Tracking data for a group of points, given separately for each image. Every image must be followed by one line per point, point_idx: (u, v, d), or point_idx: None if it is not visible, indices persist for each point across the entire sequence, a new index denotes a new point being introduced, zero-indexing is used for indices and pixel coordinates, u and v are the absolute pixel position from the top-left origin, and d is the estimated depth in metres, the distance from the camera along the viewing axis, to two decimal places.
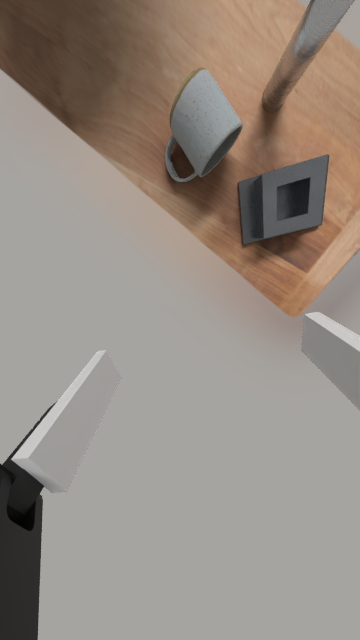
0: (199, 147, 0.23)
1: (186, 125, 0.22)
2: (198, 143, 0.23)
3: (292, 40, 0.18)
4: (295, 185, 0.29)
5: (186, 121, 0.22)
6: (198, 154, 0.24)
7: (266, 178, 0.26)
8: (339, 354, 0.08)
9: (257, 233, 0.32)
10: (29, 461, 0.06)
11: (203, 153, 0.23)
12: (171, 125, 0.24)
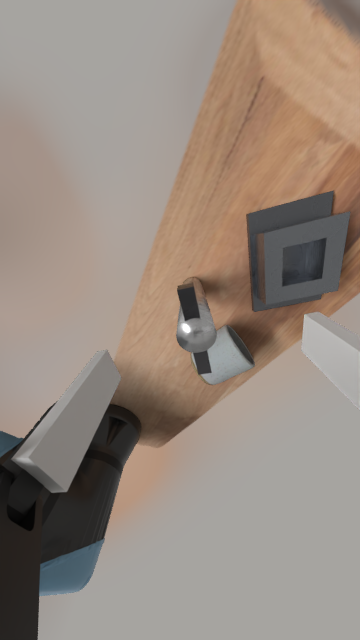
0: (243, 371, 0.26)
1: None
2: (240, 372, 0.26)
3: None
4: None
5: None
6: (246, 370, 0.26)
7: (271, 299, 0.23)
8: (339, 354, 0.08)
9: None
10: (29, 461, 0.06)
11: (248, 369, 0.25)
12: None
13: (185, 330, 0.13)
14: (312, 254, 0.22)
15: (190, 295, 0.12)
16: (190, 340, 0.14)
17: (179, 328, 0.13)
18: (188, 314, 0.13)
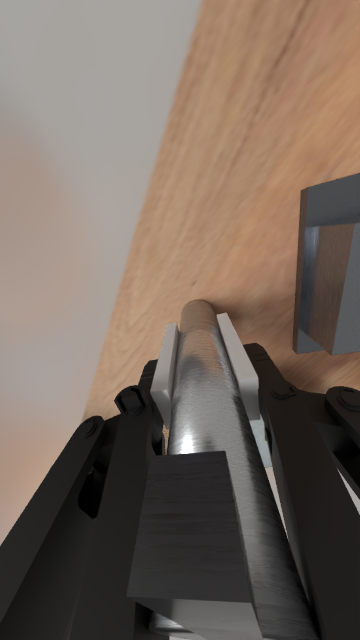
0: None
1: None
2: None
3: None
4: None
5: None
6: None
7: (343, 347, 0.13)
8: (224, 344, 0.11)
9: None
10: (163, 394, 0.08)
11: None
12: None
13: (187, 631, 0.03)
14: None
15: (217, 611, 0.02)
16: (205, 637, 0.03)
17: (159, 626, 0.03)
18: (201, 625, 0.02)
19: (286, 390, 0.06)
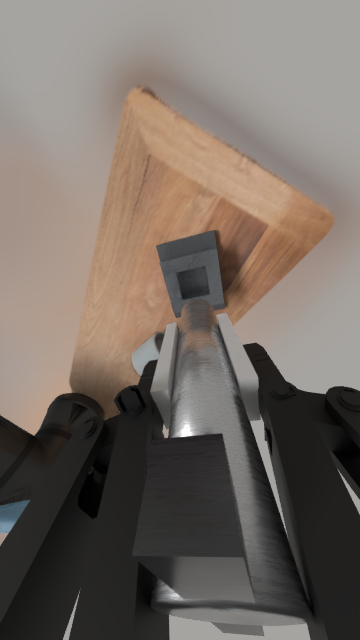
0: None
1: None
2: None
3: None
4: None
5: None
6: None
7: (176, 309, 0.30)
8: (224, 344, 0.11)
9: None
10: (163, 394, 0.08)
11: None
12: None
13: (187, 606, 0.03)
14: (206, 275, 0.30)
15: (214, 571, 0.02)
16: (204, 614, 0.04)
17: (160, 601, 0.03)
18: (199, 594, 0.03)
19: (286, 390, 0.06)
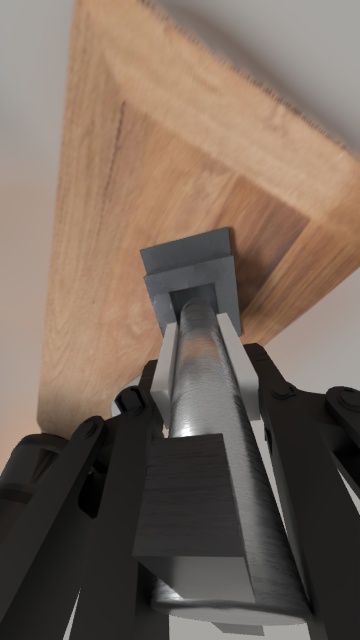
0: None
1: None
2: None
3: None
4: None
5: None
6: None
7: None
8: (224, 344, 0.11)
9: None
10: (163, 394, 0.08)
11: None
12: None
13: (187, 605, 0.03)
14: (214, 294, 0.20)
15: (213, 570, 0.02)
16: (204, 614, 0.04)
17: (160, 601, 0.03)
18: (200, 594, 0.03)
19: (286, 390, 0.06)
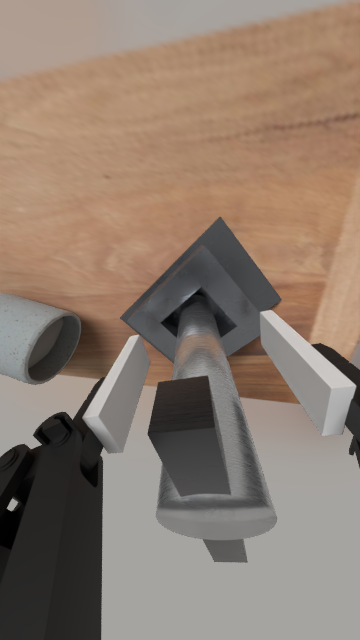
0: None
1: None
2: None
3: None
4: None
5: None
6: None
7: (137, 322, 0.15)
8: (278, 345, 0.09)
9: None
10: (97, 420, 0.07)
11: None
12: None
13: (183, 510, 0.04)
14: None
15: (198, 448, 0.03)
16: (196, 524, 0.05)
17: (164, 506, 0.04)
18: (191, 486, 0.04)
19: None
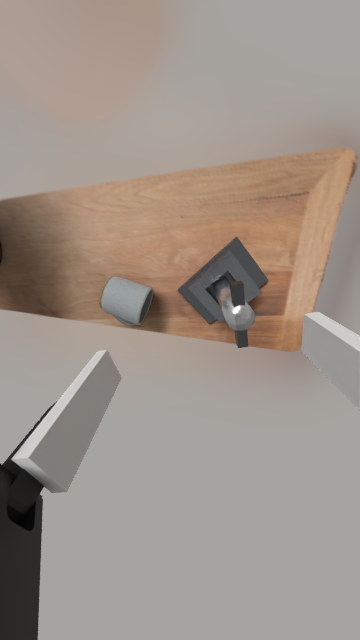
0: (129, 320, 0.31)
1: (114, 314, 0.31)
2: (127, 319, 0.31)
3: None
4: None
5: (113, 313, 0.31)
6: (131, 322, 0.32)
7: (193, 289, 0.30)
8: (339, 354, 0.08)
9: None
10: (29, 461, 0.06)
11: (133, 322, 0.31)
12: None
13: (233, 313, 0.19)
14: None
15: (240, 289, 0.18)
16: (235, 321, 0.20)
17: (229, 312, 0.19)
18: (237, 302, 0.19)
19: None
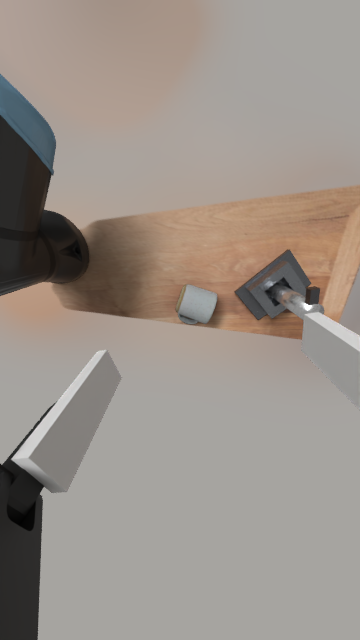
0: (199, 320, 0.39)
1: (188, 315, 0.38)
2: (198, 319, 0.38)
3: None
4: None
5: (187, 314, 0.38)
6: (200, 321, 0.39)
7: (254, 291, 0.37)
8: (339, 354, 0.08)
9: (264, 311, 0.42)
10: (29, 461, 0.06)
11: (203, 321, 0.39)
12: None
13: (308, 310, 0.27)
14: None
15: (316, 292, 0.25)
16: None
17: (305, 309, 0.27)
18: (312, 302, 0.26)
19: None
